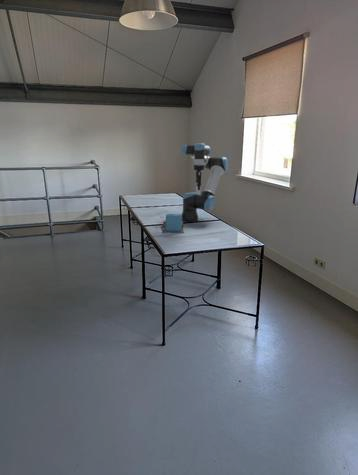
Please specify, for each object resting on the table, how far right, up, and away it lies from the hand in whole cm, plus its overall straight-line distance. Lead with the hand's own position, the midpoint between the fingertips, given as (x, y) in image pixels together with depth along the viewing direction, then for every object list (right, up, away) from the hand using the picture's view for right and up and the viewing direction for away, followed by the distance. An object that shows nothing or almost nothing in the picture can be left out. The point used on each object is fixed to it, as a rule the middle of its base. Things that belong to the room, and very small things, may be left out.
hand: (197, 192), depth 254 cm
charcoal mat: (-19, -29, -5) cm, 36 cm away
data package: (-19, -29, -6) cm, 35 cm away
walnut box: (-19, -26, +6) cm, 33 cm away
